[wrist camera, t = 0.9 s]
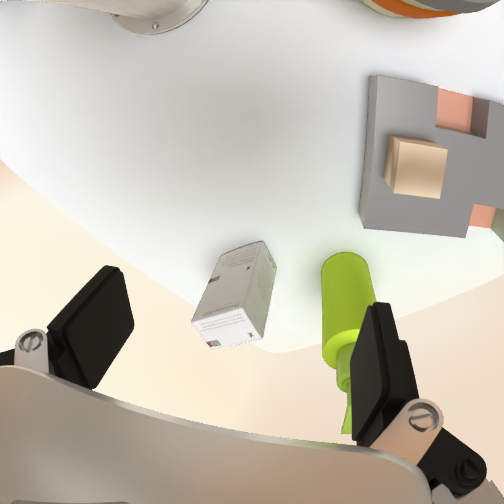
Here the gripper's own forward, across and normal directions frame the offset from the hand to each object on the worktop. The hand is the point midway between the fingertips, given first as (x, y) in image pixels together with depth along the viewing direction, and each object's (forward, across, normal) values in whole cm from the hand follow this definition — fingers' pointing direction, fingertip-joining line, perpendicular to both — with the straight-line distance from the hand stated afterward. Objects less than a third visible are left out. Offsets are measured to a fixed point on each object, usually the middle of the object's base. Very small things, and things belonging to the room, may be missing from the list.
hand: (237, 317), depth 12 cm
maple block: (+20, -11, -3) cm, 24 cm away
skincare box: (+25, +4, +13) cm, 28 cm away
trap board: (+25, -20, -3) cm, 32 cm away
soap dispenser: (+25, -8, +13) cm, 29 cm away
